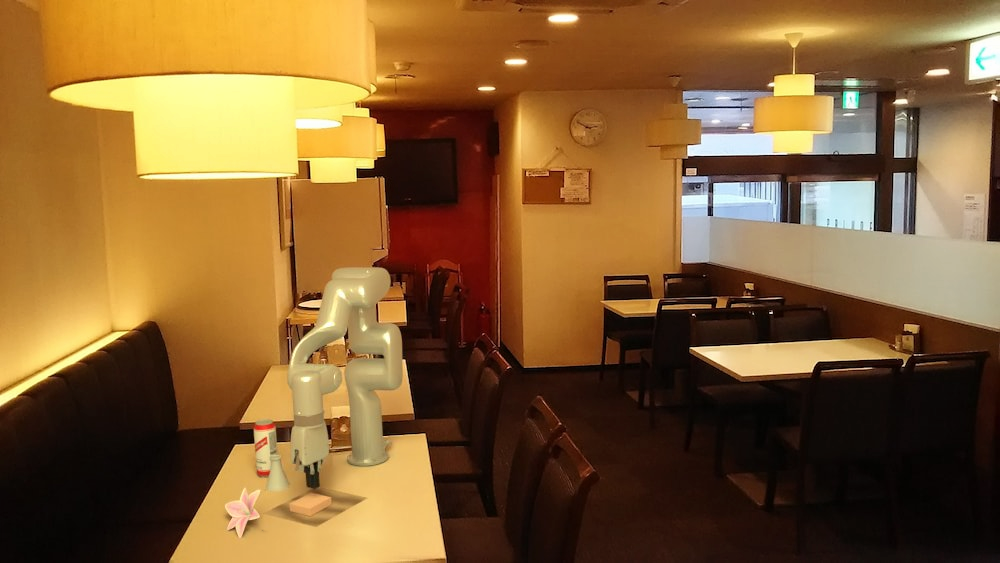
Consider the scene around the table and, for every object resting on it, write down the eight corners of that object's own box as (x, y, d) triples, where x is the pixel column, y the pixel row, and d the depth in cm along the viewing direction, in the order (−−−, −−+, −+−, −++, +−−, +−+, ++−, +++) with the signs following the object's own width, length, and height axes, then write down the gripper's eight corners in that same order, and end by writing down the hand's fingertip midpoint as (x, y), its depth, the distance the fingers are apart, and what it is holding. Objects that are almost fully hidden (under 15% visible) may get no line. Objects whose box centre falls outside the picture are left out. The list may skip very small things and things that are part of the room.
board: (317, 490, 228) (316, 486, 228) (367, 502, 219) (367, 497, 219) (263, 517, 211) (263, 513, 211) (316, 531, 202) (315, 526, 202)
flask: (283, 496, 225) (281, 461, 223) (259, 495, 226) (257, 460, 225) (295, 486, 232) (293, 452, 230) (271, 485, 233) (269, 451, 232)
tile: (311, 492, 218) (289, 503, 211) (331, 497, 215) (309, 508, 208) (311, 500, 218) (289, 511, 212) (331, 505, 215) (310, 516, 208)
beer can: (268, 479, 238) (265, 426, 235) (252, 476, 240) (248, 423, 238) (283, 472, 243) (279, 419, 241) (266, 469, 246) (263, 417, 244)
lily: (227, 523, 211) (211, 499, 206) (269, 499, 214) (254, 475, 209) (237, 554, 202) (220, 530, 196) (281, 529, 205) (266, 504, 199)
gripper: (317, 409, 219) (321, 475, 222) (277, 425, 207) (281, 494, 209) (339, 413, 216) (343, 479, 218) (299, 429, 203) (303, 500, 205)
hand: (313, 486), depth 214 cm, fingers closed
